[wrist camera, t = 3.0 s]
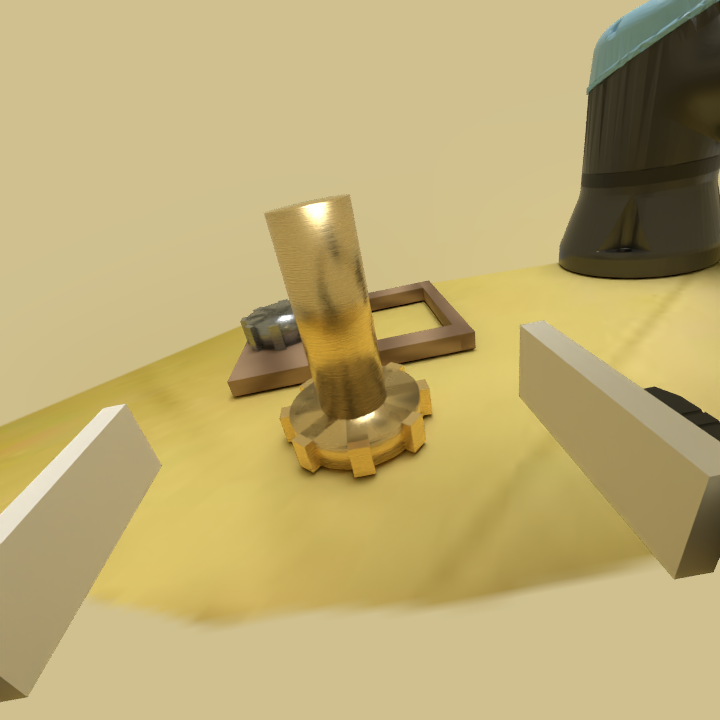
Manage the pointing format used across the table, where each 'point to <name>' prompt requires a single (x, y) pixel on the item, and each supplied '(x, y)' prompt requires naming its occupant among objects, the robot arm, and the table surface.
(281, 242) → the planet gear
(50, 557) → the robot arm
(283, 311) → the sun gear
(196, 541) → the table surface
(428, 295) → the plate
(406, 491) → the table surface
